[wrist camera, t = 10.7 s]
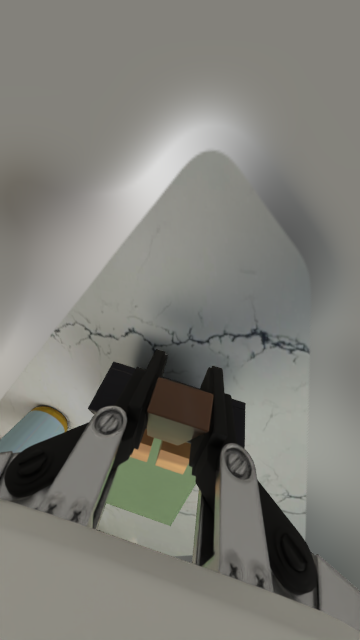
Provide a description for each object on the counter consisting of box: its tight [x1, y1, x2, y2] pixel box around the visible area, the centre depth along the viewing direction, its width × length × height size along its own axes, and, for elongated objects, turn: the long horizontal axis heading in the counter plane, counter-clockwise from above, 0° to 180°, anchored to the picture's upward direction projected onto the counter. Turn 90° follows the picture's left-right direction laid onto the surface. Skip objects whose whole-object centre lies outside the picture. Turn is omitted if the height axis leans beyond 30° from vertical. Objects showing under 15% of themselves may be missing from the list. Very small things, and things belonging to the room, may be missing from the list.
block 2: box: [155, 440, 191, 475], centre depth 25 cm, size 4×4×4 cm
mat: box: [106, 438, 196, 526], centre depth 34 cm, size 36×18×1 cm, turn 165°
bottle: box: [0, 406, 67, 453], centre depth 25 cm, size 7×7×15 cm
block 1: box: [130, 429, 154, 462], centre depth 26 cm, size 4×4×4 cm
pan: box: [88, 362, 245, 448], centre depth 16 cm, size 22×12×4 cm, turn 164°
